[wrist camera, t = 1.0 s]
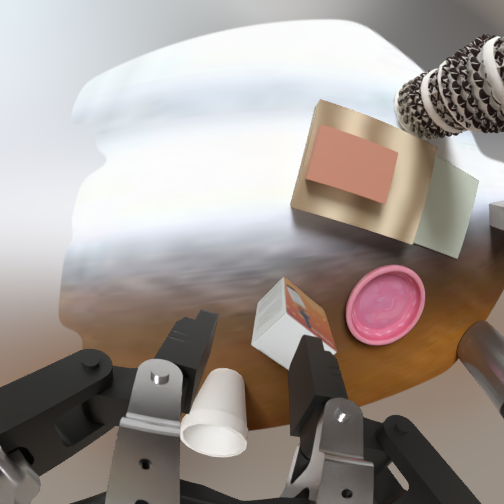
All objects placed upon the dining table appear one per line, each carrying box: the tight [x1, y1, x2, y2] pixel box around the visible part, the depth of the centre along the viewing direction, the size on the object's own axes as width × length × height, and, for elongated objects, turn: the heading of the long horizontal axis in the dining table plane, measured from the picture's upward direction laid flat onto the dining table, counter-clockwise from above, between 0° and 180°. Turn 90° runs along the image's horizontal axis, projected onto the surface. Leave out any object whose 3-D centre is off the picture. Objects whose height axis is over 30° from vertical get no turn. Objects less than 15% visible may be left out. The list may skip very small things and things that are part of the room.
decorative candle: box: [394, 34, 504, 140], centre depth 17 cm, size 9×9×25 cm
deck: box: [290, 99, 437, 245], centre depth 30 cm, size 16×13×4 cm
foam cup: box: [180, 368, 248, 457], centre depth 36 cm, size 10×9×13 cm
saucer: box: [346, 265, 425, 345], centre depth 35 cm, size 12×12×3 cm
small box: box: [251, 277, 337, 370], centre depth 33 cm, size 8×6×10 cm
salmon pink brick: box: [305, 124, 398, 204], centre depth 27 cm, size 9×6×2 cm, turn 76°
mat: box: [413, 156, 479, 259], centre depth 32 cm, size 12×13×1 cm
